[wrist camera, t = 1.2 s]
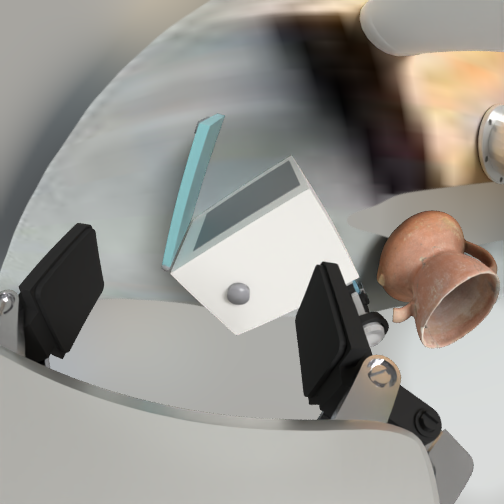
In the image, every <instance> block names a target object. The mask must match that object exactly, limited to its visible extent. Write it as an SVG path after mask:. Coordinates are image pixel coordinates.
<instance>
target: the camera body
mask: <svg viewBox="0 0 504 504" xmlns="http://www.w3.org/2000/svg"><path fill="white" fill-rule="evenodd" d="M323 261H324V262H331V263H336V264H338V266H339V268H340V271H341V273H342V276H343V278H344V281H345V284H347V283H349V282H351V281H353V280H355V279H357V278H359V275H358V273H357V271H356V268H355V266H354V264H353V262H352V260H351V258H350V256H349V254H348V252H347V250H346V247H345V245H344V243H343V241H342V239H341V237H340V235H339V233H338V231H337V229H336V227H335V226H334V224H333V222H332V220H331V218H330V217H329V215H328V213H327V211H326V210H325V208H324V206H323V205H322V203H321V201H320V199H319V198H318V196H317V194H316V193H315V191H314V190H313V188H312V186H311V185H310V183H309V181H308V180H307V178H306V177H305V175H304V173H303V172H302V170H301V169H300V167H299V166H298V164H297V163H296V161H295V159H294V158H293V156H292V155H291V156H289V157H288V158H286V159H284V160H283V161H281V162H280V163H278V164H276V165H275V166H273V167H271V168H270V169H268V170H267V171H265V172H264V173H262V174H260V175H259V176H257V177H256V178H254V179H253V180H251V181H249V182H248V183H246V184H245V185H243V186H242V187H240V188H239V189H237V190H236V191H234V192H233V193H231V194H230V195H228V196H227V197H225V198H224V199H222V200H221V201H219V202H218V203H216V204H215V205H213V206H212V207H210V208H209V209H207V210H206V211H205V212H203V213H202V214H200V215H199V216H197V217H196V218H195V219H194V220H193V222H192V224H191V226H190V228H189V231H188V233H187V235H186V238H185V240H184V242H183V245H182V247H181V249H180V252H179V254H178V256H177V259H176V261H175V264H174V266H173V268H172V271H171V273H170V274H171V275H172V276H173V277H174V278H175V279H176V280H177V281H178V282H179V283H180V284H181V285H182V286H183V287H184V288H185V289H186V290H187V291H188V292H190V293H191V294H192V295H193V296H194V297H195V299H196V300H197V301H199V302H200V303H201V304H202V305H203V306H204V307H205V308H207V309H208V310H209V311H210V312H211V313H212V314H213V315H214V316H215V317H216V318H217V319H219V320H220V321H221V322H222V323H223V324H224V325H225V326H226V327H227V328H229V329H230V330H231V331H232V332H233V333H234V334H235V335H239V334H241V333H244V332H246V331H249V330H251V329H253V328H255V327H258V326H260V325H262V324H265V323H267V322H269V321H271V320H273V319H276V318H278V317H280V316H282V315H284V314H287V313H289V312H291V311H293V310H295V309H297V308H299V307H300V305H301V302H302V300H303V297H304V295H305V292H306V290H307V287H308V284H309V282H310V279H311V277H312V274H313V271H314V269H315V266H316V265H317V264H318V265H320V264H321V263H322V262H323Z"/></svg>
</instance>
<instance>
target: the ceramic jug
mask: <svg viewBox="0 0 504 504" xmlns="http://www.w3.org/2000/svg"><path fill="white" fill-rule="evenodd" d="M464 252H466V253H468V254H470V255H472V256H473V257H475V258H477V259H478V260H480V261H481V262H482V263H481V262H480V261H478V260H476V259H474V258H472V257H470V256H467V255H465V254H464ZM484 264H485V265H484ZM496 274H497V264H496V262H495V260H494V258H493V257H492V255H491V254H490V253H489V252H488V251H487V250H485V249H484V248H482V247H480V246H478V245H475V244H473V243H470V242H468V241H466V240H465V239H464V236H463V232H462V229H461V227H460V225H459V224H458V222H457V221H456V220H455V219H454V218H453V217H452V216H450V215H448V214H446V213H444V212H440V211H424V212H421V213H418V214H416V215H413V216H411V217H410V218H408V219H407V220H405V221H404V222H403V223H402V224H401V225H399V226H398V227H397V228H396V229H395V230H394V231H393V232H392V234H391V235H390V237H389V238H388V240H387V241H386V243H385V245H384V248H383V250H382V253H381V257H380V262H379V267H378V273H377V281H378V283H379V284H380V285H382V286H383V288H384V289H385V291H386V292H387V293H388V294H389V295H390V296H391V297H393V298H395V299H397V300H399V301H403V302H409V303H408V304H407V305H406V306H404V307H402V308H393V322H395V323H400V322H403V321H405V320H407V319H408V318H409V317H410V316H413V317H414V319H415V323H416V327H417V332H418V335H419V338H420V340H421V342H422V343H423V345H424V346H425V347H428V348H441V347H445V346H448V345H450V344H452V343H454V342H455V341H457V340H458V339H460V338H462V337H464V336H465V335H466V334H467V333H469V332H470V331H472V330H473V329H474V328H475V327H476V326H477V325H479V323H481V322H482V321H483V320H484V318H485V317H486V316H487V315H488V314H489V313H490V311H491V309H492V308H493V305H494V304H495V303H496V300H497V298H498V295H499V291H500V281H499V278H498V276H497V275H496ZM424 327H425V328H424Z"/></svg>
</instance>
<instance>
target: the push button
mask: <svg viewBox="0 0 504 504" xmlns="http://www.w3.org/2000/svg"><path fill="white" fill-rule="evenodd" d="M361 285H362V284H361ZM346 286H347V289H348V292H349V294H350V297H351V300H352V301H353V302H354V303H355V306H356V309H357V311H358V314H359V317H360V320H361V323H362V325H363V328H364V331H365V334H366V337H367V340H368V343H369V346H370V347H372V346H375V345H377V344H378V343H380V342H381V341H382V340H383V338H384V336H385V334H386V333H387V331H388V328H389V325H388V323H387V321H386V319H384V318H383V316H382V315H380V314H379V313H378V312H369V309H368V306H367V304H369V299H368V297H367V295H366V293H365V290H364V288H362V289H360V290H359V287H358V285H357V283H356V281H355V280H353V281H351V282H349V283H347V284H346ZM362 287H363V286H362ZM360 291H361V292H360Z"/></svg>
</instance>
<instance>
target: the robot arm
mask: <svg viewBox="0 0 504 504" xmlns="http://www.w3.org/2000/svg"><path fill="white" fill-rule="evenodd" d="M478 150H479V158H480V162H481V166H482V168H483V170H484V172H485V174H486V175H487V177H488V178H489V179H491V180H492V181H494V182H495V183H497V184H504V105H502V104H497V105H494V106H492V107H491V108H490V109H489V110H488V111H487V112H486V114H485V115H484V118H483V120H482V122H481V126H480V130H479V137H478ZM103 288H104V281H103V276H102V270H101V265H100V259H99V253H98V246H97V239H96V233H95V230H94V229H92V226H91V225H88V224H82V223H77V224H76V225H75V226H74V227H73V228H72V229H71V230H70V231H69V232H68V233H67V234H66V235H65V236H64V237H63V238H62V239H61V240H60V241H59V242H58V243H57V244H56V245H55V246H54V247H53V248H52V249H51V250H50V251H49V252H48V253H47V254H46V255H45V257H44V258H43V259H42V260H41V261H40V262H39V263H38V264H37V265H36V267H35V268H34V269H33V270H32V271H31V272H30V274H29V275H28V276H27V277H26V278H25V280H24V281H23V282H22V283H21V284H20V286H19V289H20V294H19V295H18V294H17V293H16V292H15V291H13V290H4V291H1V292H0V504H454V503H455V501H456V500H457V498H458V497H459V495H460V493H461V492H462V490H463V489H464V487H465V485H466V483H467V482H468V480H469V478H470V476H471V474H472V472H473V466H474V464H473V459H472V458H471V456H470V455H469V454H468V452H467V451H466V450H465V449H464V448H463V447H462V446H461V445H460V444H459V443H458V442H457V441H456V440H455V439H454V438H453V437H452V435H451V434H450V433H449V432H448V431H447V430H443V431H442V430H441V428H442V427H441V419H440V417H439V415H438V413H437V412H436V411H435V410H434V409H433V408H431V407H430V406H429V405H427V404H426V403H424V402H423V401H422V400H420V399H419V398H417V397H416V396H414V395H413V394H412V393H410V392H409V391H408V390H406V389H405V388H403V387H402V386H401V385H400V382H401V375H400V371H399V369H398V367H397V366H396V364H395V363H394V362H393V361H392V360H390V359H389V358H387V357H384V356H382V355H372V352H371V349H370V346H369V343H368V340H367V337H366V334H365V331H364V328H363V325H362V323H361V320H360V317H359V314H358V311H357V309H356V306H355V303H354V302H353V301H352V300H351V297H350V294H349V292H348V289H347V286H346V284H345V281H344V278H343V276H342V273H341V271H340V268H339V266H338V264H336V263H331V262H324V261H323V262H322V263H321V264H320V265H318V264H317V265H316V266H315V269H314V271H313V274H312V277H311V279H310V282H309V284H308V287H307V290H306V292H305V295H304V297H303V300H302V302H301V305H300V307H299V310H298V312H297V315H296V320H295V323H296V332H297V340H298V348H299V357H300V365H301V374H302V383H303V392H304V396H305V397H308V399H309V404H310V405H316V404H317V405H319V407H320V410H322V413H321V414H320V416H319V417H318V419H317V420H290V419H266V418H252V417H240V416H231V415H222V414H214V413H207V412H201V411H195V410H189V409H183V408H178V407H173V406H168V405H163V404H158V403H154V402H150V401H146V400H142V399H138V398H134V397H130V396H127V395H123V394H120V393H116V392H113V391H110V390H107V389H103V388H100V387H97V386H94V385H91V384H89V383H86V382H83V381H80V380H77V379H75V378H72V377H70V376H67V375H64V374H62V373H59V372H57V371H54V370H52V369H50V363H49V356H50V354H52V355H54V356H56V357H59V358H61V359H63V357H64V355H65V353H67V352H69V351H70V349H71V347H72V345H73V343H74V342H75V339H76V338H77V336H78V334H79V332H80V330H81V328H82V326H83V324H84V323H85V321H86V319H87V317H88V315H89V313H90V312H91V310H92V308H93V307H94V305H95V303H96V301H97V300H98V298H99V296H100V295H101V293H102V291H103Z"/></svg>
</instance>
